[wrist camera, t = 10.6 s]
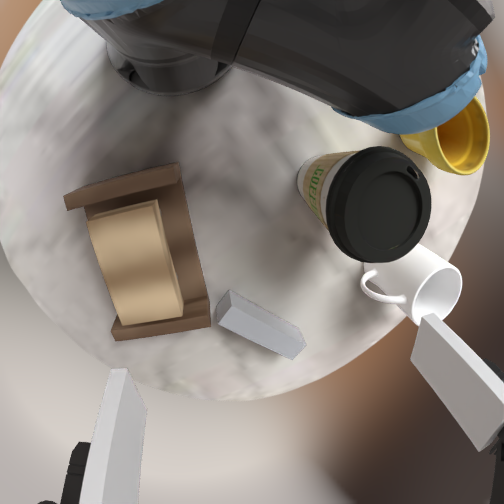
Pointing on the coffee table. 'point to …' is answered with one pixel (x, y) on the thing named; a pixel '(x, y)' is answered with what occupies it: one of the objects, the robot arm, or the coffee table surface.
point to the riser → (259, 325)
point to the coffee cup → (368, 201)
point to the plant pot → (455, 141)
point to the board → (136, 263)
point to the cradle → (177, 234)
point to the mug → (416, 283)
